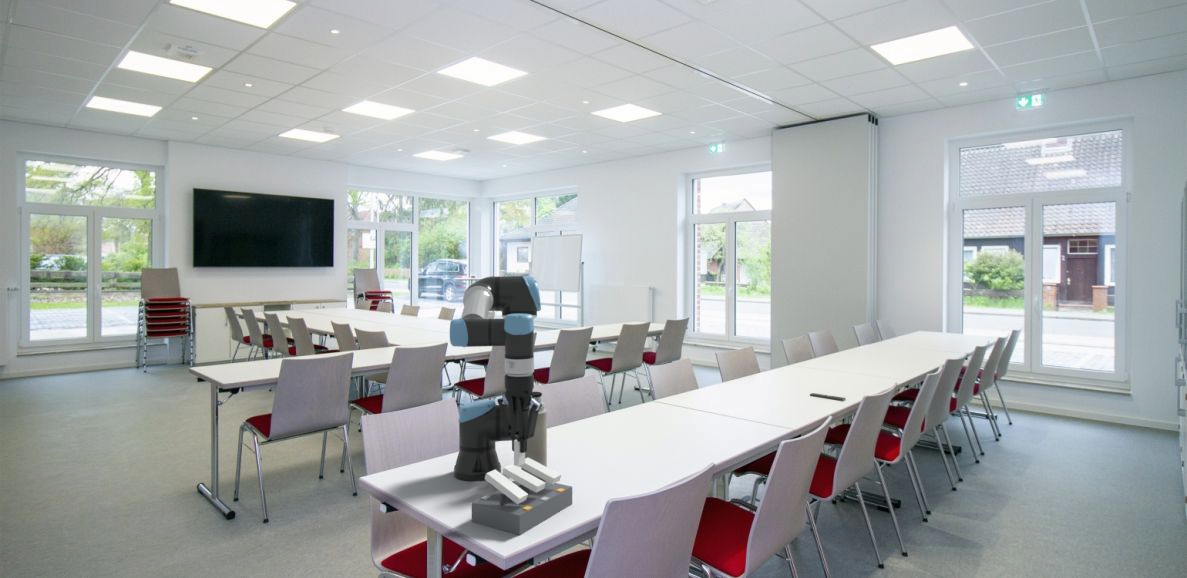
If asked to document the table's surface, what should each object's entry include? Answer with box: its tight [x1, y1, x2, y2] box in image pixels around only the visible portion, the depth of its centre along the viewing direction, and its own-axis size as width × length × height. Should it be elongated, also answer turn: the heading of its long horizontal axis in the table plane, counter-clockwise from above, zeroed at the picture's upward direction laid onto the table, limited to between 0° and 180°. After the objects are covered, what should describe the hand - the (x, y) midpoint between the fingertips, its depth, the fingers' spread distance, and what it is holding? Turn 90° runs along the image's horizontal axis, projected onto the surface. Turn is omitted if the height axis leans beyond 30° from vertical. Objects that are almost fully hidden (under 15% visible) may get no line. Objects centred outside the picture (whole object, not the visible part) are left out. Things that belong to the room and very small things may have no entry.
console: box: [471, 476, 573, 536], centre depth 166 cm, size 16×24×8 cm, turn 149°
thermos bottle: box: [520, 391, 548, 477], centre depth 191 cm, size 8×8×28 cm
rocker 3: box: [518, 458, 562, 484], centre depth 172 cm, size 12×4×2 cm, turn 59°
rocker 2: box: [501, 463, 545, 493], centre depth 166 cm, size 12×4×2 cm, turn 59°
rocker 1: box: [484, 469, 528, 504], centre depth 159 cm, size 12×4×2 cm, turn 59°
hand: (519, 464), depth 157 cm, fingers closed
